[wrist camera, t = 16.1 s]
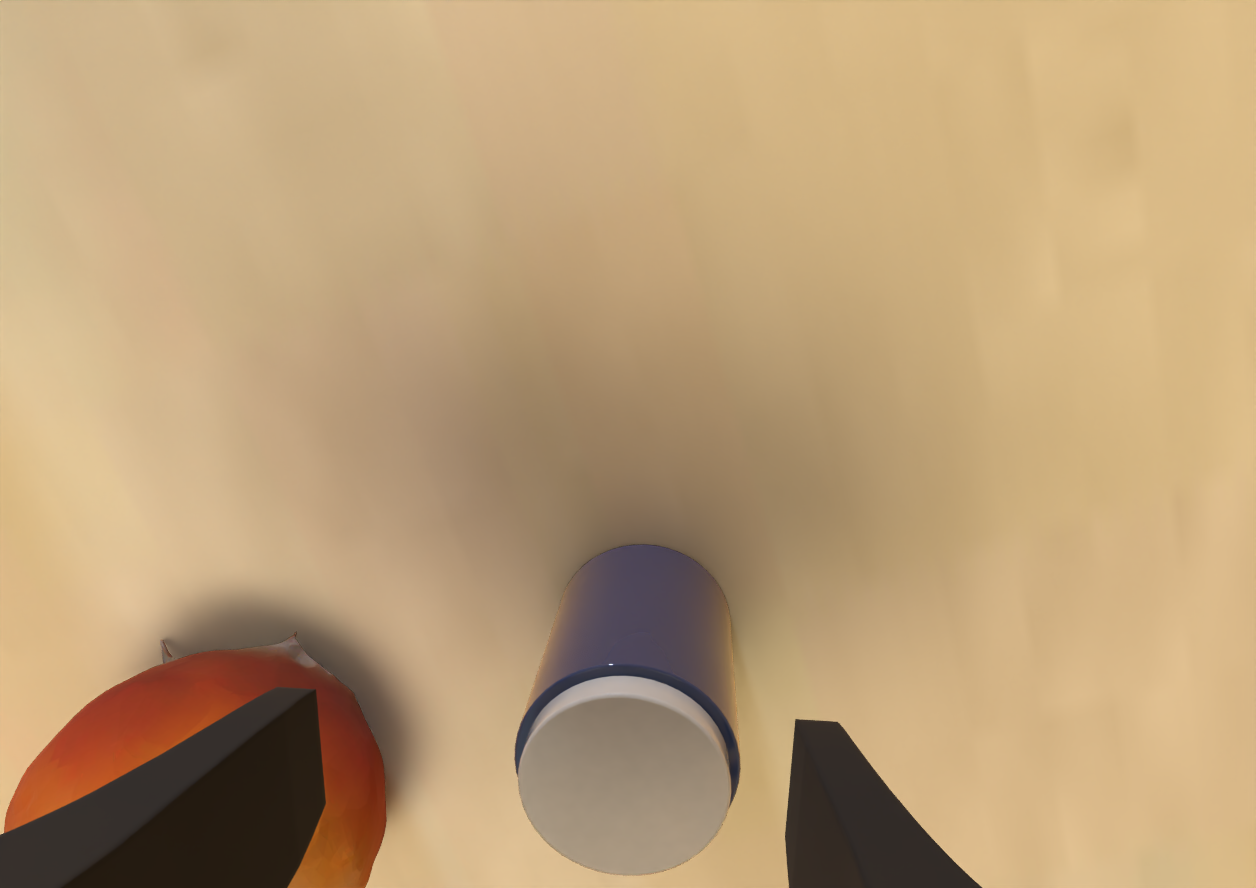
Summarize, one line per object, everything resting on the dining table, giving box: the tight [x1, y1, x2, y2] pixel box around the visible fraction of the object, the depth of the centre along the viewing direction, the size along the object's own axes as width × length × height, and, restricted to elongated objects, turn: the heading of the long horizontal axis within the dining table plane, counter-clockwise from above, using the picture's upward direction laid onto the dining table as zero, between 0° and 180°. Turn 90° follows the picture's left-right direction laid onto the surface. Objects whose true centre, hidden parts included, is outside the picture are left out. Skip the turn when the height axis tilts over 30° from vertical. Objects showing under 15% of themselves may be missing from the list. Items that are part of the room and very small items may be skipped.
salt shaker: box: [515, 545, 741, 876], centre depth 20 cm, size 4×4×6 cm
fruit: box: [4, 631, 386, 888], centre depth 22 cm, size 8×8×8 cm
